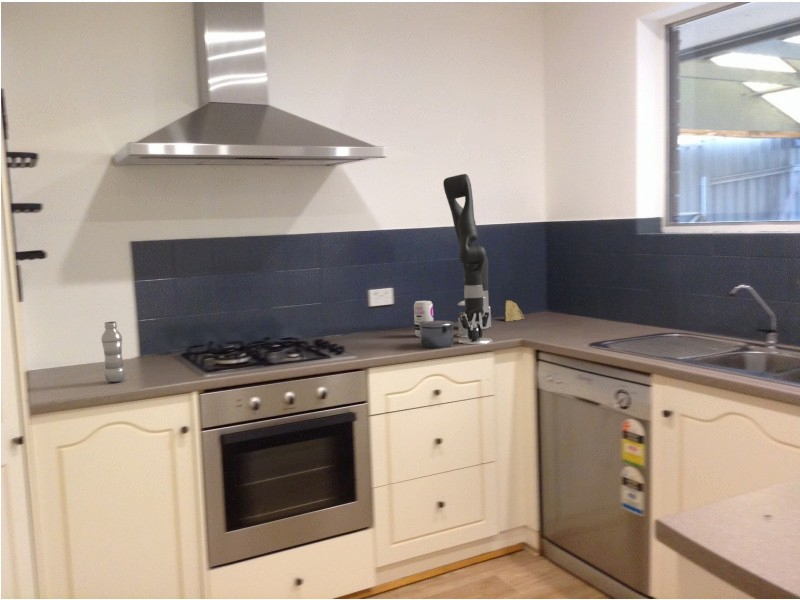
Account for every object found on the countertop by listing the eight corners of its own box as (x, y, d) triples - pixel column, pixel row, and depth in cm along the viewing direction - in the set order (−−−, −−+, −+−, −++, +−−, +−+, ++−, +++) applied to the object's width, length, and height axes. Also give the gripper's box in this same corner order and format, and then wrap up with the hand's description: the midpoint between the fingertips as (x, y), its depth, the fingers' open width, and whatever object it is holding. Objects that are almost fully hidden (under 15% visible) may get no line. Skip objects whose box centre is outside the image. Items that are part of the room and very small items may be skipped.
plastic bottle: (107, 385, 219) (102, 324, 217) (103, 381, 225) (97, 322, 223) (128, 381, 223) (123, 322, 221) (123, 378, 229) (118, 320, 227)
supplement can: (434, 334, 296) (433, 300, 295) (433, 337, 288) (432, 302, 286) (415, 334, 297) (414, 300, 295) (414, 337, 289) (413, 302, 287)
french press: (454, 337, 285) (452, 278, 282) (460, 333, 296) (458, 276, 293) (477, 337, 282) (475, 278, 279) (482, 333, 293) (480, 275, 290)
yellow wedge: (523, 313, 335) (503, 311, 336) (526, 301, 329) (505, 298, 330) (523, 328, 327) (503, 326, 328) (526, 316, 321) (505, 314, 322)
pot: (438, 340, 278) (437, 319, 277) (464, 346, 263) (463, 323, 262) (410, 344, 271) (409, 322, 270) (435, 350, 256) (434, 327, 255)
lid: (478, 338, 281) (477, 324, 280) (499, 342, 269) (498, 327, 269) (451, 342, 274) (451, 328, 273) (472, 346, 262) (471, 331, 262)
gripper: (481, 294, 277) (483, 335, 278) (454, 297, 269) (455, 339, 271) (493, 295, 270) (494, 337, 272) (465, 298, 263) (466, 341, 265)
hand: (475, 338), depth 272 cm, fingers open, 3 cm apart
